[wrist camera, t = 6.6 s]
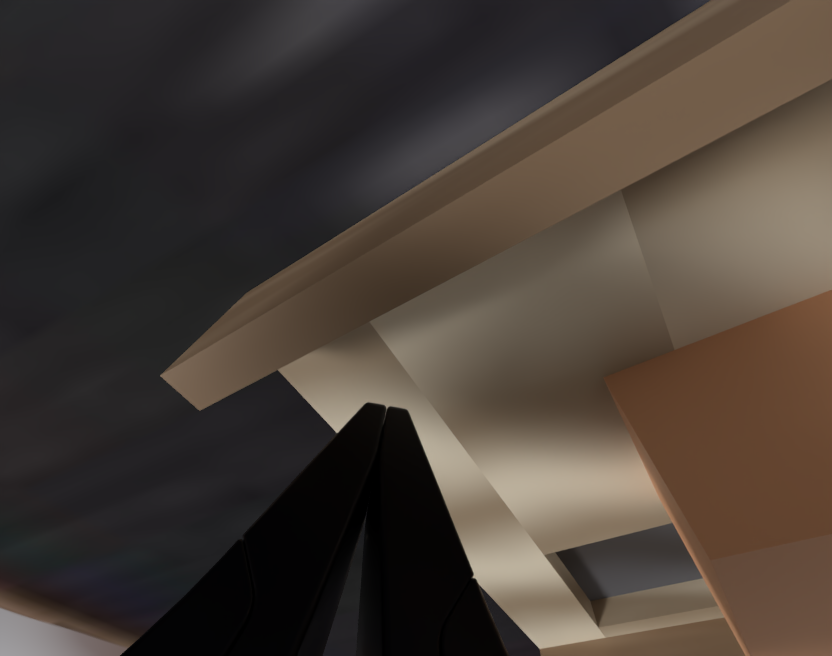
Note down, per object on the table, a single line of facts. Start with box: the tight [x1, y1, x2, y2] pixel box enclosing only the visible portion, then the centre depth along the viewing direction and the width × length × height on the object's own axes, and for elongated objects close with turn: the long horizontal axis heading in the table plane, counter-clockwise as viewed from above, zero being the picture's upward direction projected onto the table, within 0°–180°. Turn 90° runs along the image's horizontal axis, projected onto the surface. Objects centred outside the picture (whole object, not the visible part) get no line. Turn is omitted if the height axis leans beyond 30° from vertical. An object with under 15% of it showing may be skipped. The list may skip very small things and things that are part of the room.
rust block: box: [603, 290, 832, 656], centre depth 8 cm, size 6×6×4 cm
